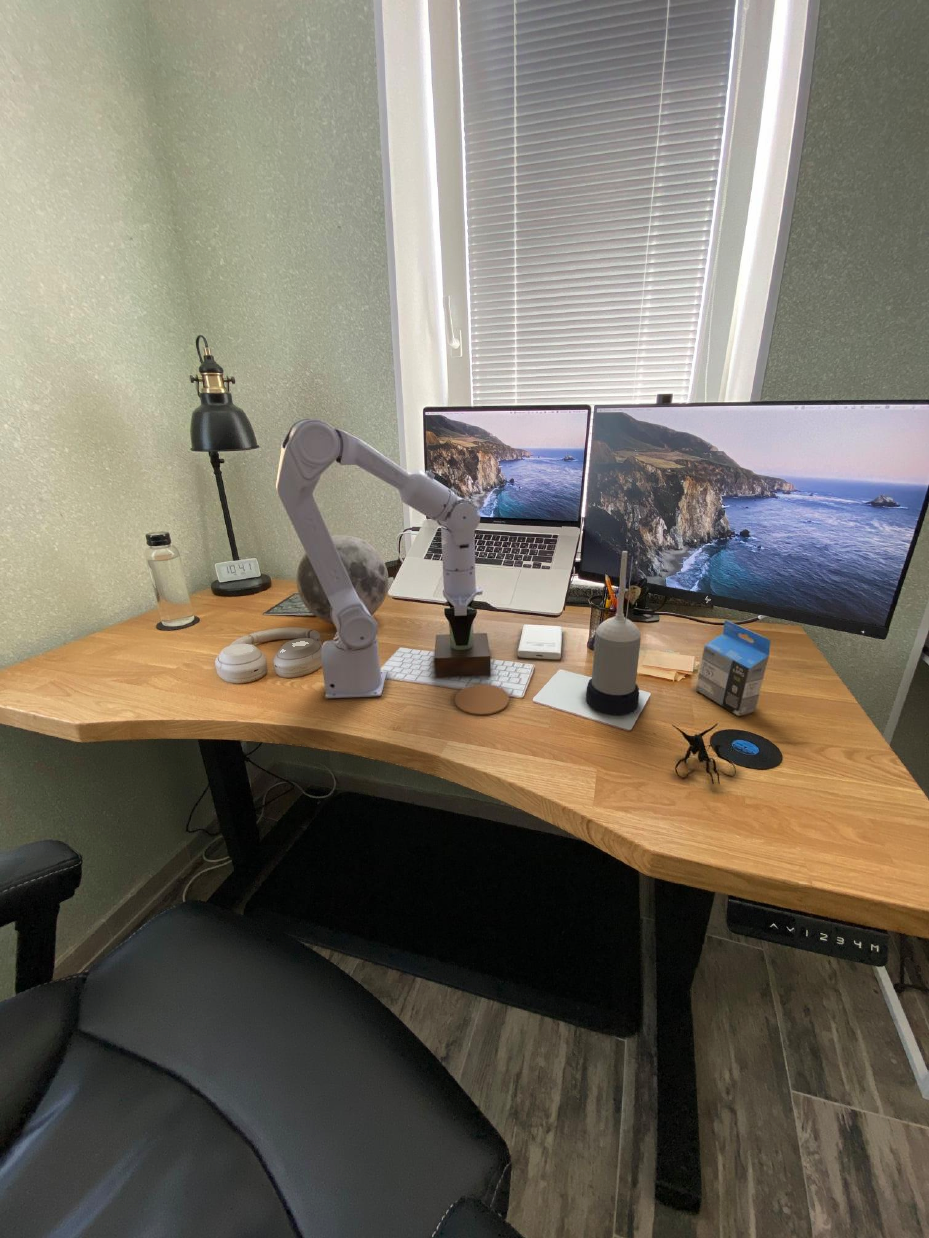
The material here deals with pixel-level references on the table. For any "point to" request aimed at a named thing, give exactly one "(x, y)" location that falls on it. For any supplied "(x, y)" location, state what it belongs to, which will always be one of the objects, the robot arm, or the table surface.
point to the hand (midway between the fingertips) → (461, 637)
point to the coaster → (481, 699)
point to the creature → (701, 752)
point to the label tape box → (734, 669)
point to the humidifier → (615, 660)
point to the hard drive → (540, 642)
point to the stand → (462, 658)
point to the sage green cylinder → (452, 641)
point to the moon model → (361, 569)
